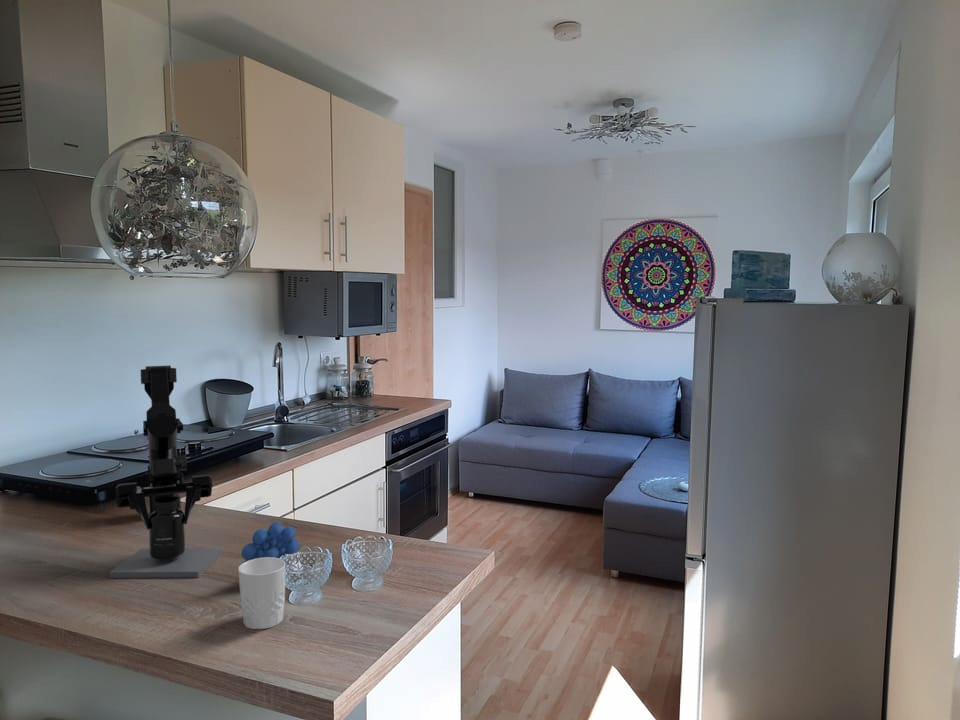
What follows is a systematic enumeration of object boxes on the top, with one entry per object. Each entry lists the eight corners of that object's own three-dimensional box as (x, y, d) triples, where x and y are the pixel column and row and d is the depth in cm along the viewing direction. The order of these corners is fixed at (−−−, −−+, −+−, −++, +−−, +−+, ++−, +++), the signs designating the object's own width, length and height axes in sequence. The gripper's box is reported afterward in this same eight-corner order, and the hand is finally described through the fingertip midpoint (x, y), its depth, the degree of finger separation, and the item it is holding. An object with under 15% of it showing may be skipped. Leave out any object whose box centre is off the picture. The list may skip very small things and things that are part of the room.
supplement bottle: (158, 563, 136) (156, 506, 135) (144, 554, 141) (141, 499, 140) (191, 553, 142) (189, 498, 140) (176, 545, 146) (174, 492, 145)
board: (109, 577, 135) (109, 572, 135) (141, 553, 148) (141, 548, 147) (198, 577, 135) (198, 571, 135) (222, 553, 148) (222, 548, 148)
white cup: (293, 610, 120) (291, 557, 120) (278, 632, 113) (276, 575, 112) (250, 609, 121) (248, 556, 120) (232, 631, 113) (230, 574, 112)
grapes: (294, 568, 139) (293, 512, 138) (303, 579, 134) (302, 522, 133) (236, 580, 133) (234, 522, 132) (243, 593, 128) (241, 532, 127)
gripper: (113, 447, 138) (114, 514, 130) (209, 438, 147) (216, 501, 138) (117, 474, 146) (117, 539, 137) (208, 465, 154) (214, 526, 146)
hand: (167, 525), depth 139 cm, fingers closed on supplement bottle, 7 cm apart
